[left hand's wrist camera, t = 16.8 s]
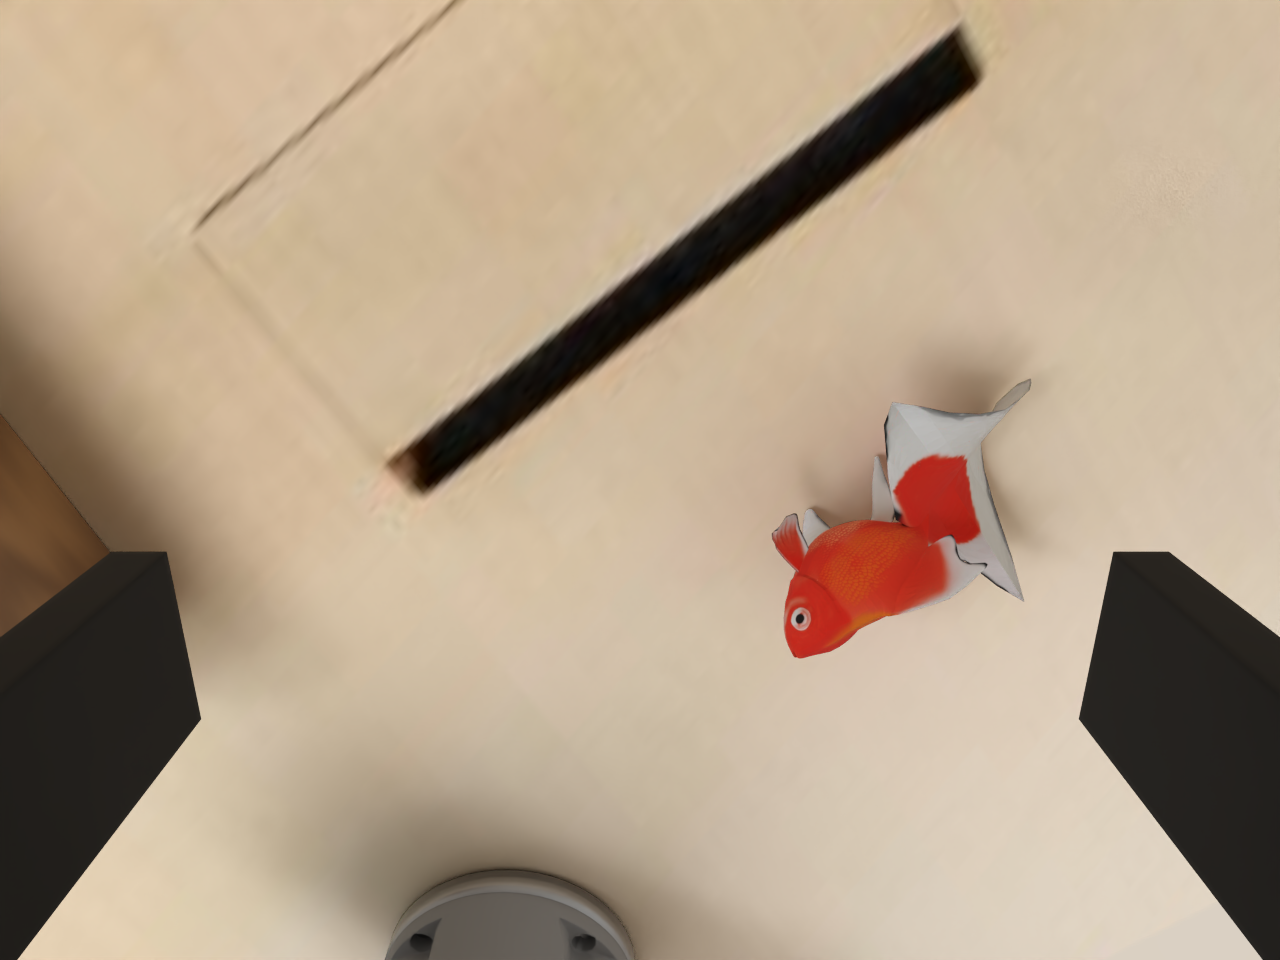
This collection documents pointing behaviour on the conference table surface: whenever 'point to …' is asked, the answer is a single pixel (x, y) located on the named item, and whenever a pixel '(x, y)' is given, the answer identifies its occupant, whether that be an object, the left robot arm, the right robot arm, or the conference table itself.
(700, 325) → the conference table surface
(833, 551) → the fish
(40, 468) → the box
